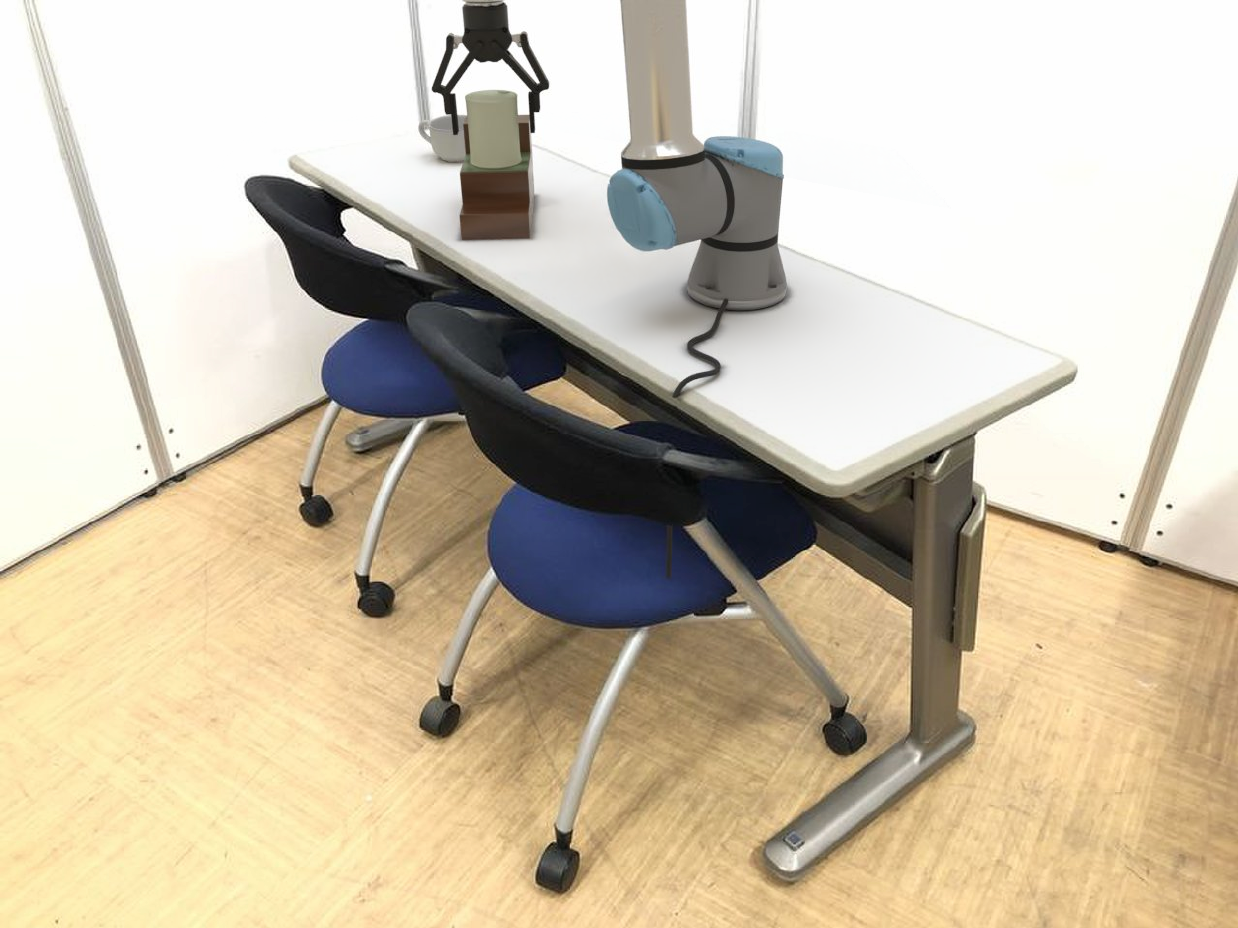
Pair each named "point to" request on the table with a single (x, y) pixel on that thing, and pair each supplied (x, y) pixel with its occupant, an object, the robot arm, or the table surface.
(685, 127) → the robot arm
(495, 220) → the shelf riser
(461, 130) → the teacup
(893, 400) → the table surface
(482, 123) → the can
